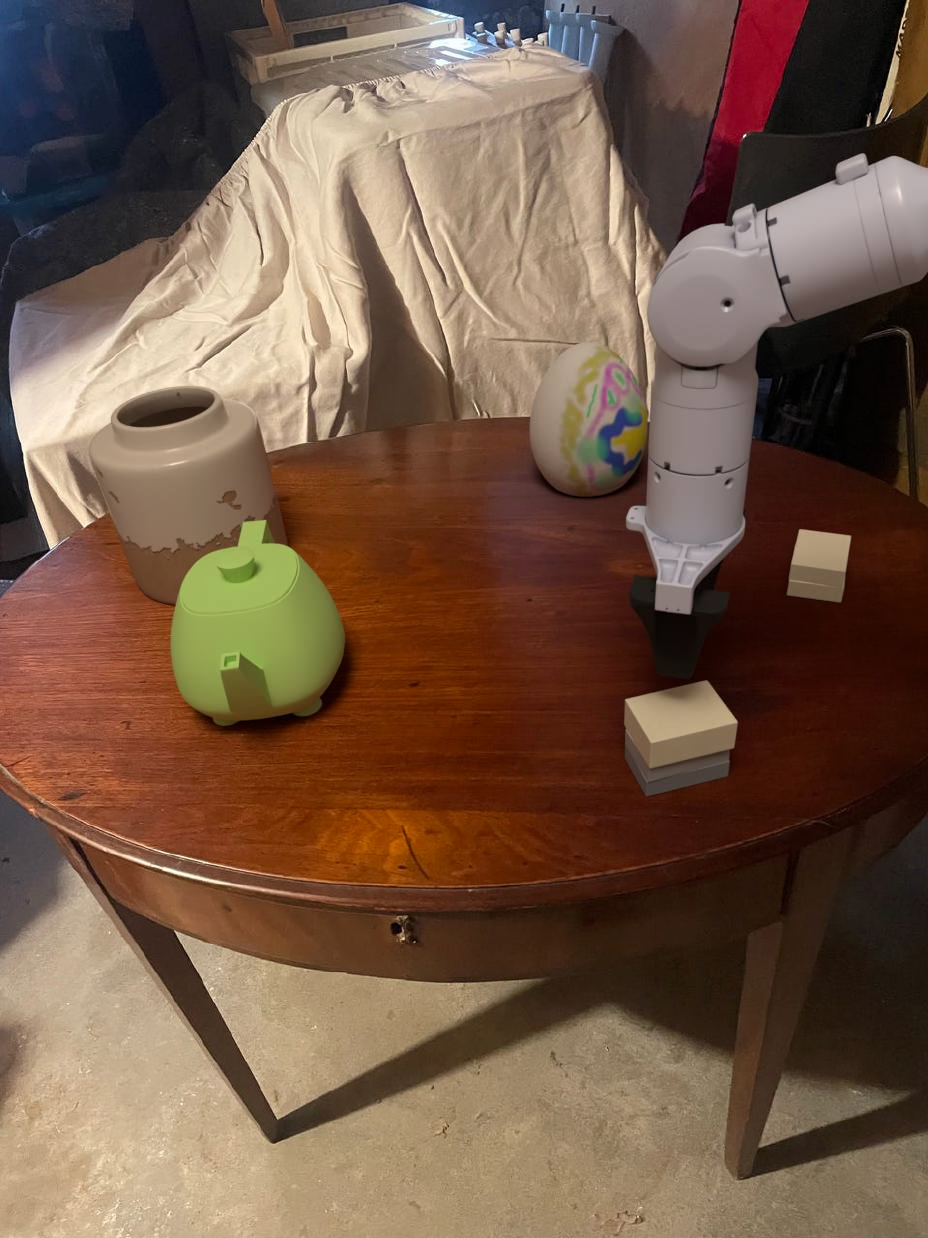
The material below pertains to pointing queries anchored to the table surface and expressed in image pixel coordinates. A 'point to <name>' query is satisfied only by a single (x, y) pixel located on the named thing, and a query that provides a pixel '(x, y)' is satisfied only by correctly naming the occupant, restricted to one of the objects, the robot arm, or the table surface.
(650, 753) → the cream rectangular block
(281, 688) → the teapot
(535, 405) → the decorative egg
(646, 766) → the grey box
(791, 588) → the cream seamed block
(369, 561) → the table surface
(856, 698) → the table surface
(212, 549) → the vase
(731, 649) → the table surface
